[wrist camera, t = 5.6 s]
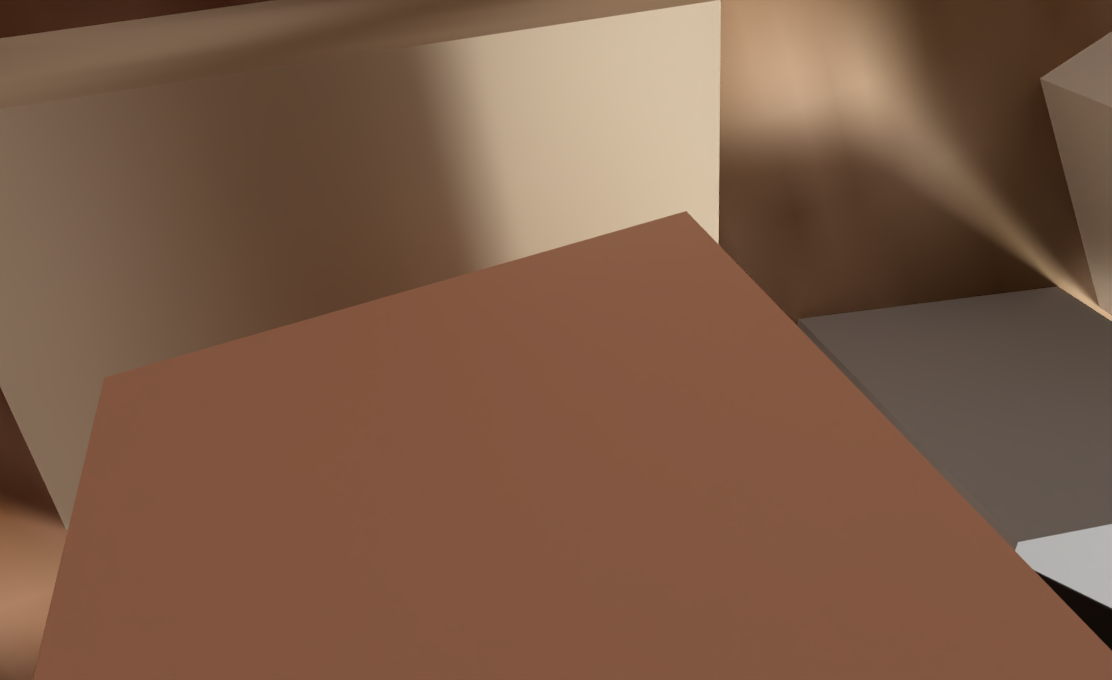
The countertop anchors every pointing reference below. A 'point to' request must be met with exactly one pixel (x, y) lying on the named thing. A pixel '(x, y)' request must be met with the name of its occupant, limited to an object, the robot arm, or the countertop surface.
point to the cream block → (1087, 151)
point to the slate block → (1001, 413)
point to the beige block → (318, 170)
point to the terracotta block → (535, 499)
